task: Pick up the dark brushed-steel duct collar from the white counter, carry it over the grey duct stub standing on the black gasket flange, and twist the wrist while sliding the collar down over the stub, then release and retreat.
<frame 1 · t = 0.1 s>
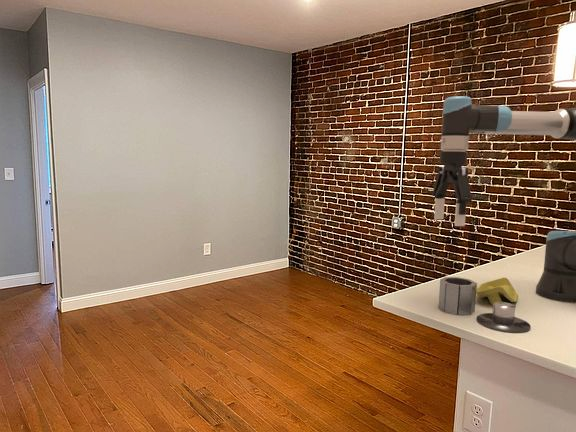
hand: (448, 222, 131), 28 cm above the kitchen counter, fingers open, 13 cm apart
duct stub: (502, 323, 126), on the kitchen counter
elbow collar: (456, 309, 137), on the kitchen counter
plastic component: (494, 300, 147), on the kitchen counter
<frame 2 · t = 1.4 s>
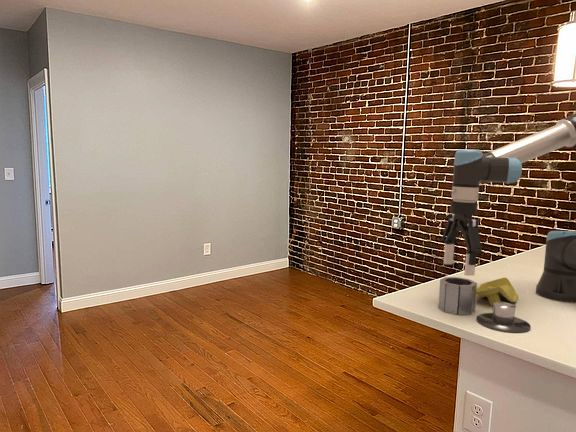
hand: (458, 269, 135), 13 cm above the kitchen counter, fingers open, 13 cm apart
nothing on the kitchen counter moved.
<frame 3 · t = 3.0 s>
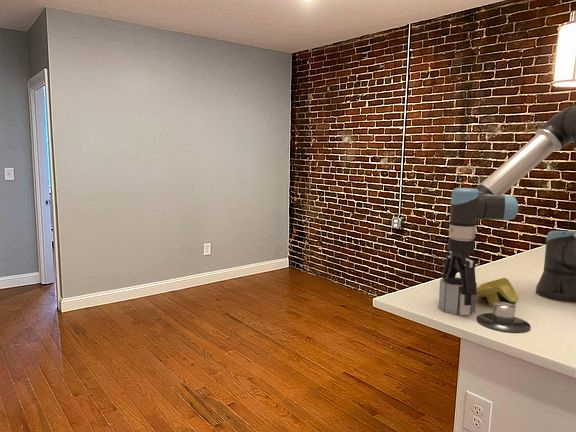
hand: (456, 308, 137), 0 cm above the kitchen counter, fingers closed on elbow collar, 10 cm apart
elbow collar: (456, 309, 137), on the kitchen counter, touching gripper
everything else where it was.
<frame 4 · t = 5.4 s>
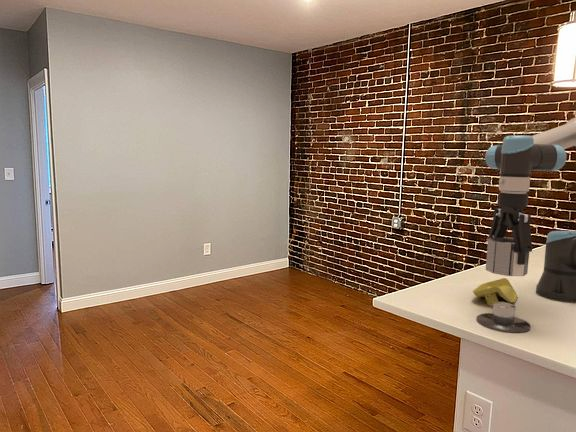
hand: (506, 270, 124), 16 cm above the kitchen counter, fingers closed on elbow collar, 10 cm apart
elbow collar: (506, 271, 124), point 15 cm above the kitchen counter, touching gripper
everything else where it was.
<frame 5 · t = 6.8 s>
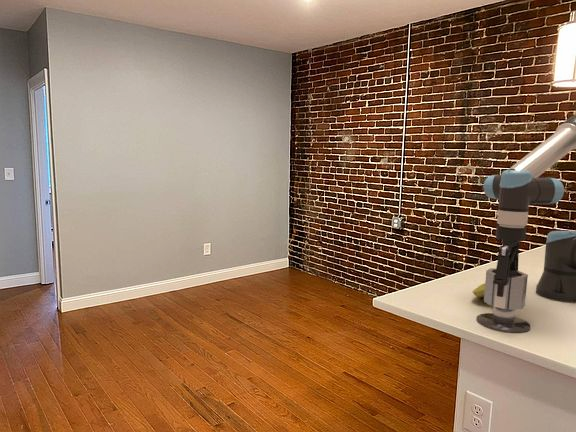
hand: (504, 302, 125), 6 cm above the kitchen counter, fingers closed on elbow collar, 10 cm apart
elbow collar: (504, 303, 125), point 6 cm above the kitchen counter, touching gripper
everything else where it was.
when the fingers open (3 cm above the kitchen counter, at t = 8.0 s): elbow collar drops 2 cm, resting on duct stub.
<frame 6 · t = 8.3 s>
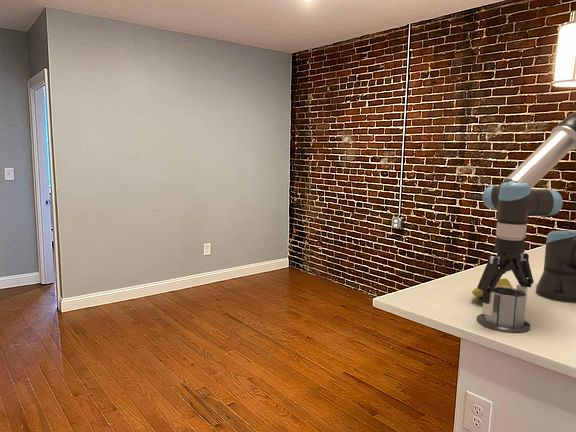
hand: (503, 311, 125), 4 cm above the kitchen counter, fingers open, 13 cm apart
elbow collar: (502, 321, 126), resting on duct stub
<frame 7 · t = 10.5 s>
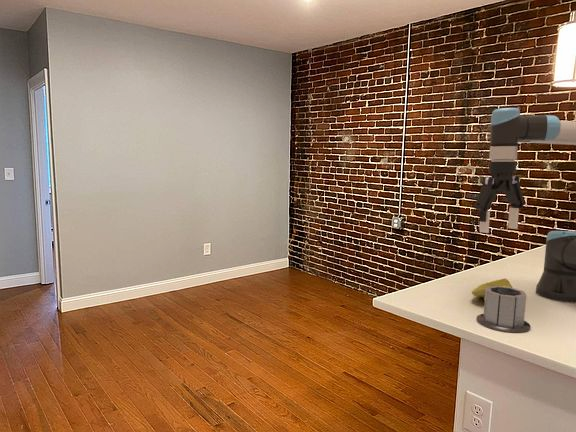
hand: (498, 230, 135), 25 cm above the kitchen counter, fingers open, 13 cm apart
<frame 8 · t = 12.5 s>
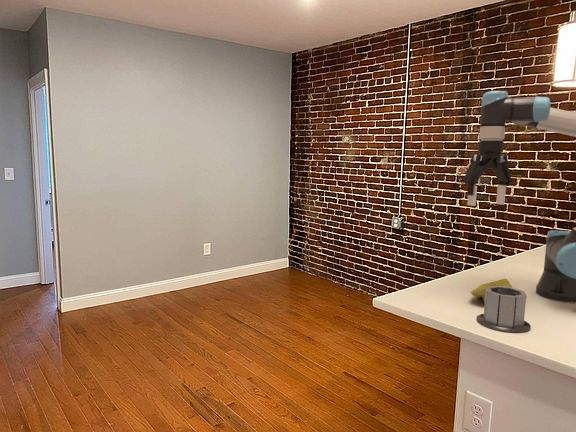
hand: (486, 205, 146), 32 cm above the kitchen counter, fingers open, 13 cm apart
at the end: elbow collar 0.1 cm from the duct stub (horizontally); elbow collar point 0.5 cm above the kitchen counter; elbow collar tilted 0° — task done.
